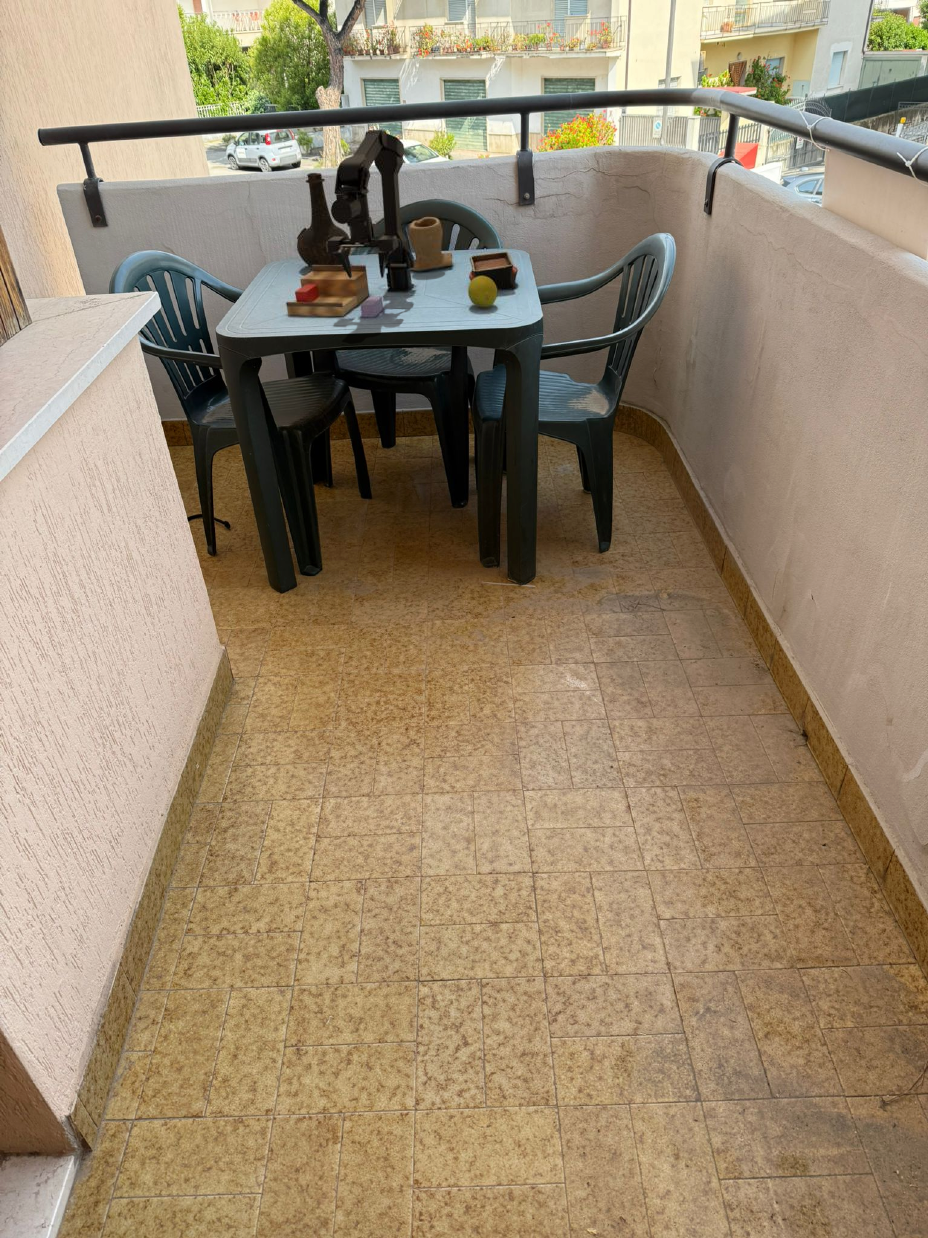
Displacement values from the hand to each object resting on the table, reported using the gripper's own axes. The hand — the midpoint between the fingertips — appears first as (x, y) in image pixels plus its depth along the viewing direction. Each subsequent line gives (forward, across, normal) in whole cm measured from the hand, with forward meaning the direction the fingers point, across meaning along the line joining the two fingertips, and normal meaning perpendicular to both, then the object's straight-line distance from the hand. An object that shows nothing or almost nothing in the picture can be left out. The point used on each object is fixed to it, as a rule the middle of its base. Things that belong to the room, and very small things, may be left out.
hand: (366, 277), depth 229 cm
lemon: (+10, -31, -6) cm, 33 cm away
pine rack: (+10, +15, -8) cm, 19 cm away
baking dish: (+10, -30, -27) cm, 42 cm away
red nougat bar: (+7, +20, -4) cm, 21 cm away
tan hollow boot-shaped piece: (+10, -6, -47) cm, 48 cm away
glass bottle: (+10, +32, -51) cm, 61 cm away
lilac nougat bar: (+10, -1, 0) cm, 10 cm away
